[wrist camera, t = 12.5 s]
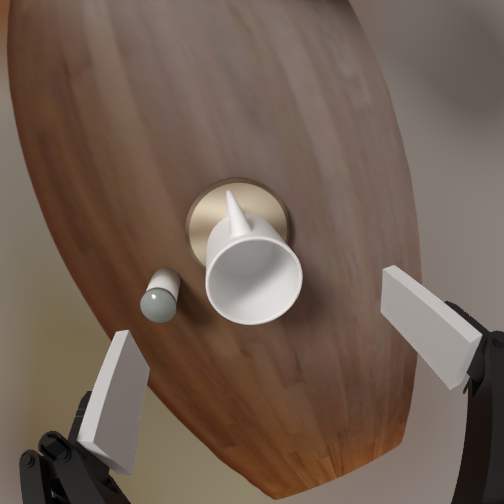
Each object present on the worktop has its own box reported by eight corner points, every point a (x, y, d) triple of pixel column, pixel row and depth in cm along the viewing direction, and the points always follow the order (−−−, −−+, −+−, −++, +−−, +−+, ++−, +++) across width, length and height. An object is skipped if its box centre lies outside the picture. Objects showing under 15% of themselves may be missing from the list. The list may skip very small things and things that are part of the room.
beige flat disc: (175, 190, 32) (173, 192, 30) (278, 168, 33) (282, 169, 31) (200, 283, 37) (199, 290, 35) (292, 263, 38) (296, 268, 36)
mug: (262, 175, 31) (286, 185, 21) (282, 267, 35) (308, 310, 25) (190, 194, 31) (180, 213, 21) (218, 284, 35) (221, 334, 25)
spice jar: (147, 270, 35) (135, 295, 29) (176, 263, 35) (169, 288, 29) (156, 297, 37) (147, 325, 30) (184, 291, 37) (180, 319, 30)
